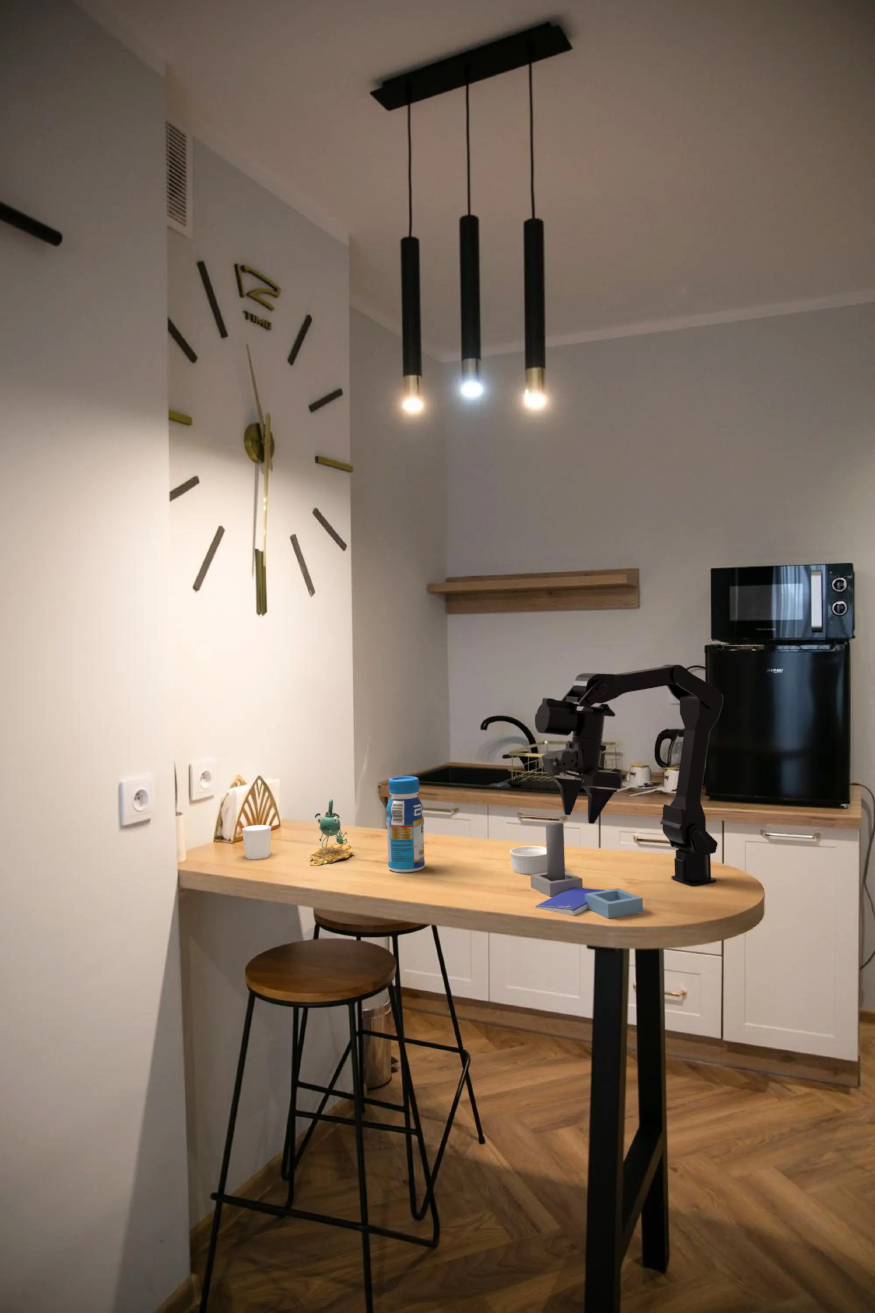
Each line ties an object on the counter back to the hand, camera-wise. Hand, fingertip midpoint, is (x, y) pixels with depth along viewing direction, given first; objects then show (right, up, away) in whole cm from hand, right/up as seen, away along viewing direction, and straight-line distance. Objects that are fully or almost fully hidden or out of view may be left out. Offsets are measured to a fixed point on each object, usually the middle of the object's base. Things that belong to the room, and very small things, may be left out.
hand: (578, 819), depth 166 cm
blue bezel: (+5, -15, -8) cm, 18 cm away
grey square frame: (-3, -15, +6) cm, 17 cm away
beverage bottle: (-34, -16, +26) cm, 46 cm away
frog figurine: (-52, -17, +39) cm, 67 cm away
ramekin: (-7, -15, +21) cm, 27 cm away
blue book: (-2, -16, -4) cm, 16 cm away
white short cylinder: (-70, -17, +42) cm, 84 cm away
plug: (-3, -15, +6) cm, 17 cm away
